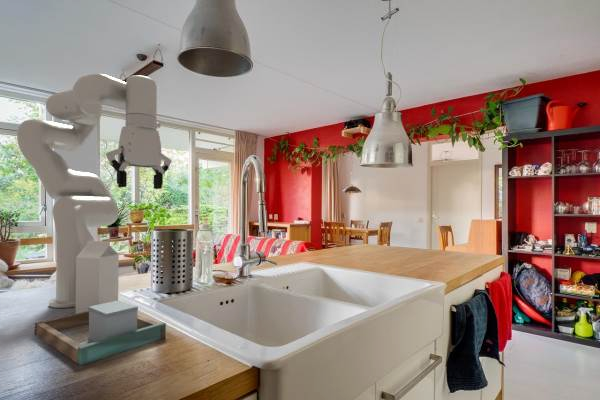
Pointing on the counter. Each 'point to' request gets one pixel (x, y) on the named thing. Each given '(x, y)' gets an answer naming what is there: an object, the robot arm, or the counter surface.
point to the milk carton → (96, 275)
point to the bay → (98, 349)
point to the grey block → (111, 320)
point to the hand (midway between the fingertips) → (140, 187)
